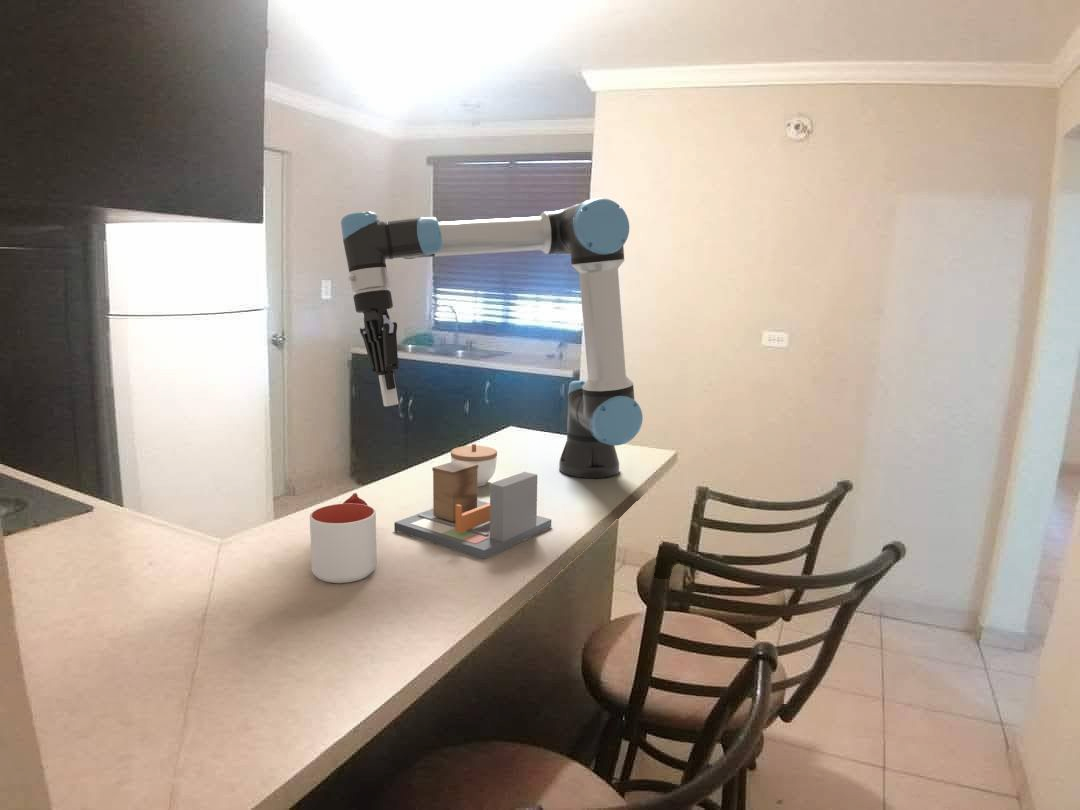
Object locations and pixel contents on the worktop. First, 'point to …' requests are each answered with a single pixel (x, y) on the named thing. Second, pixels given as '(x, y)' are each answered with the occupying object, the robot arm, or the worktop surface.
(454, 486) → the brown rectangular block
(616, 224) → the robot arm
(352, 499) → the onion
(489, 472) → the lidded jar
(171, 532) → the worktop surface
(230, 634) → the worktop surface
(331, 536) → the cup
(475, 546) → the base
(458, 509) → the orange bracket
